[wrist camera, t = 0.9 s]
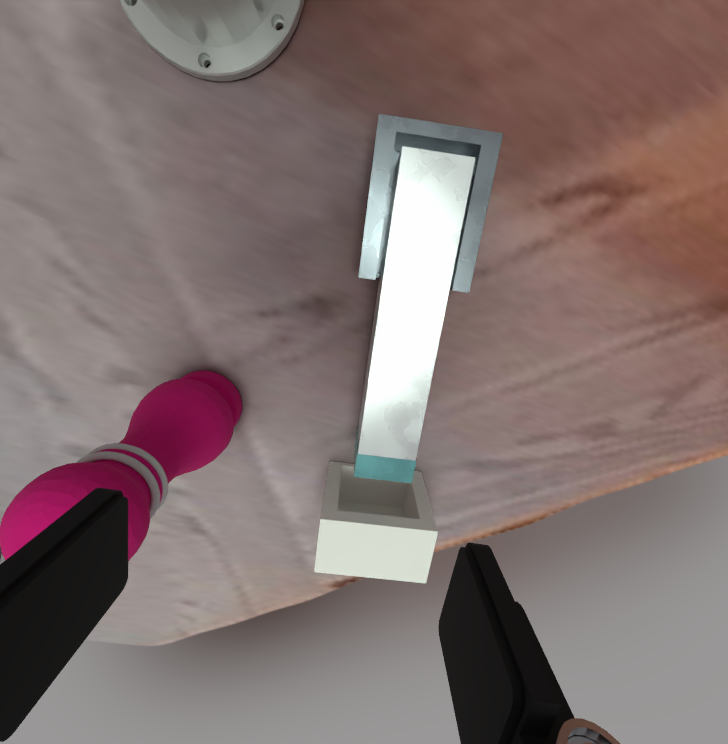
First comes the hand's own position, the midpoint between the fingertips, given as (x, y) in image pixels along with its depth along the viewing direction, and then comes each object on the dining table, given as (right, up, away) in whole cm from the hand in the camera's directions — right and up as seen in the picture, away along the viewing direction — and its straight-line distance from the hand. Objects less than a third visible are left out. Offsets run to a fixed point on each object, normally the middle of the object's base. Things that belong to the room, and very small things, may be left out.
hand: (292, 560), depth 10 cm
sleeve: (+6, +17, +19) cm, 26 cm away
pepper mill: (-12, +2, +23) cm, 27 cm away
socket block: (+3, -6, +26) cm, 27 cm away
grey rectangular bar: (+5, +9, +20) cm, 23 cm away
